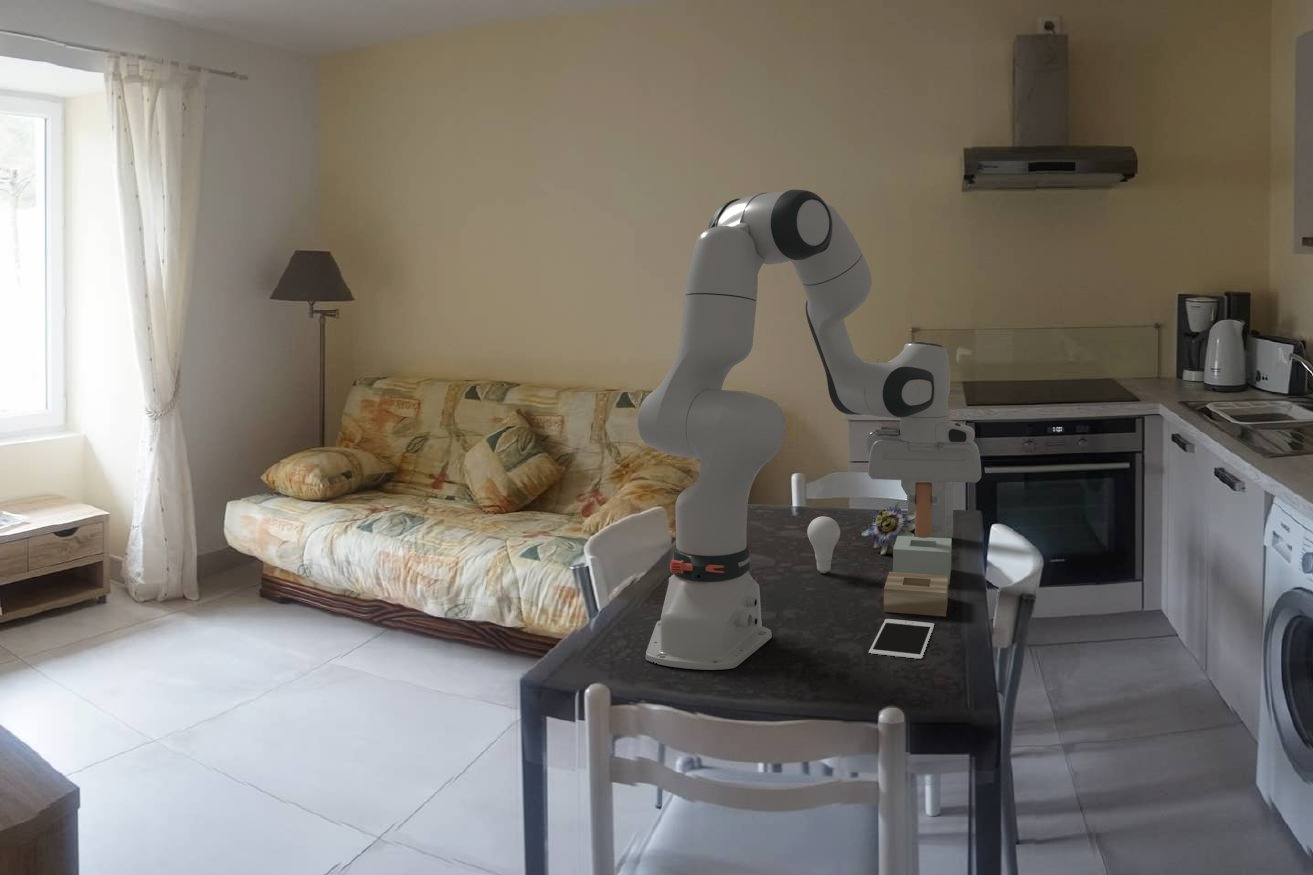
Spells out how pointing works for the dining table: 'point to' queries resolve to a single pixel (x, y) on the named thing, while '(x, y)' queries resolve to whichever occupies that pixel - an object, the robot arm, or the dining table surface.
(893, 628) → the cell phone
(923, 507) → the pin
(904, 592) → the mount
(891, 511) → the passion flower
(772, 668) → the dining table surface
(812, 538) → the lightbulb
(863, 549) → the dining table surface
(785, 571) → the dining table surface
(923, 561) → the socket
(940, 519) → the skincare box
